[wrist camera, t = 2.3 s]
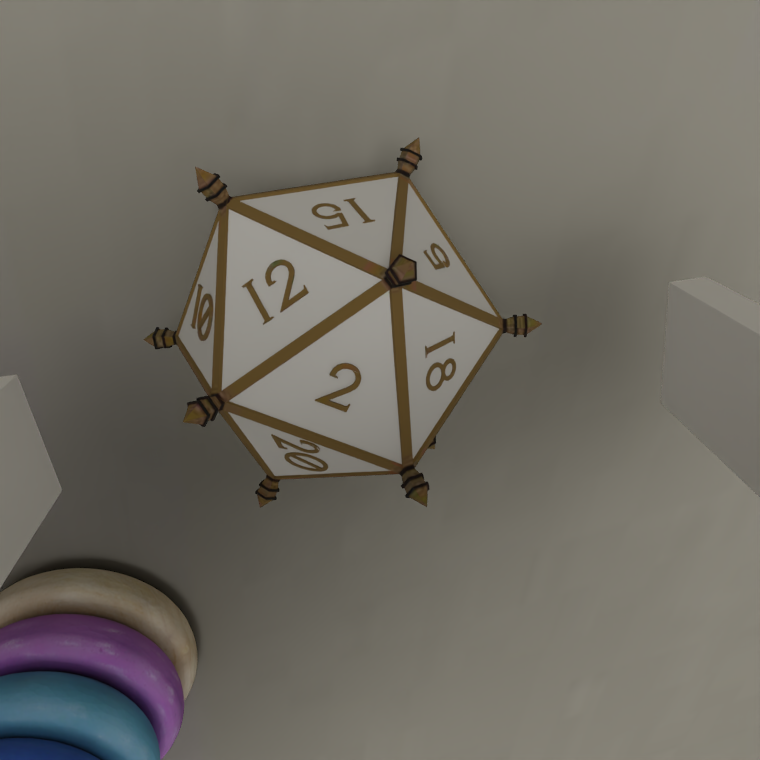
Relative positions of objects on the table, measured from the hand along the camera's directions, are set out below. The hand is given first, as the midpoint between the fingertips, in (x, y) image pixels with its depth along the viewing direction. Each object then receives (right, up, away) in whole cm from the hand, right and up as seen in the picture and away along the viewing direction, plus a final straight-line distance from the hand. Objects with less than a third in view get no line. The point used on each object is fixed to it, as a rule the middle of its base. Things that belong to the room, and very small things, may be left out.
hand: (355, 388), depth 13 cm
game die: (-1, +3, +7) cm, 7 cm away
